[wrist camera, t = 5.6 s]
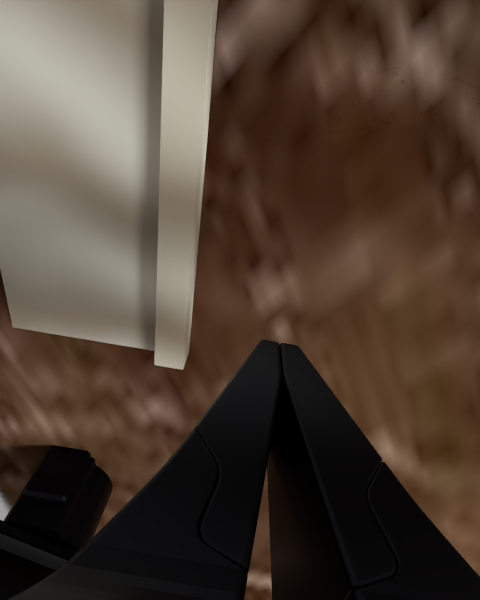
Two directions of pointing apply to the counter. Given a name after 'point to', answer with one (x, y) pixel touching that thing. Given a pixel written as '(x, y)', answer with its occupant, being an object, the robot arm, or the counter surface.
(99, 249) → the board
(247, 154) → the counter surface
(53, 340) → the counter surface
